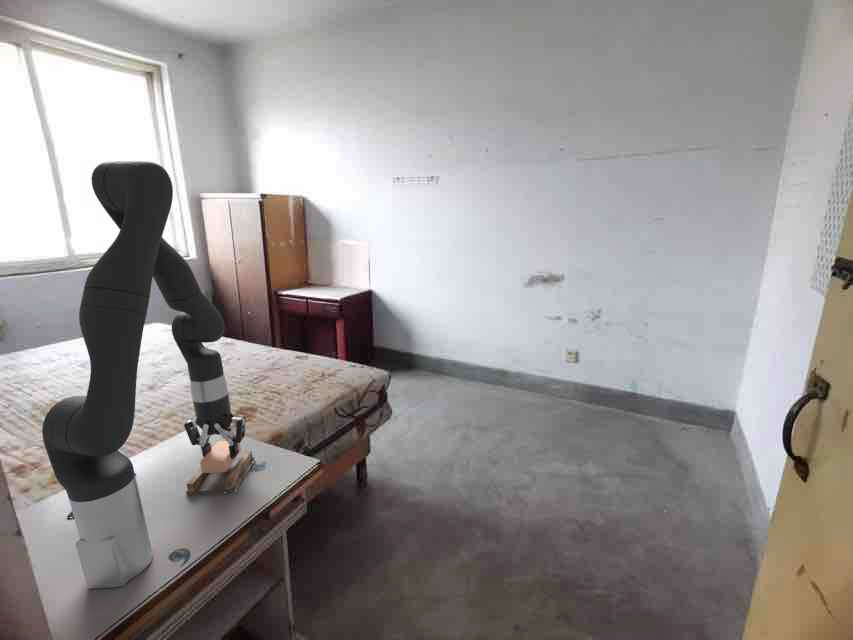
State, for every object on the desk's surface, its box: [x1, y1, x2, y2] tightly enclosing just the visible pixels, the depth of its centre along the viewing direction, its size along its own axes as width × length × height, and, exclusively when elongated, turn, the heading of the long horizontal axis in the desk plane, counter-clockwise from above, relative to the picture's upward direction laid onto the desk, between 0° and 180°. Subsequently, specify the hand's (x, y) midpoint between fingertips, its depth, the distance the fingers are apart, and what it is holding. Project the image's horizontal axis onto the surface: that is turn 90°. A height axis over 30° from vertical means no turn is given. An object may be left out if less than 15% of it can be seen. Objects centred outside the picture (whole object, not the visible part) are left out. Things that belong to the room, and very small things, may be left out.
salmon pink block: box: [199, 440, 242, 473], centre depth 100 cm, size 9×6×3 cm, turn 2°
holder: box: [185, 450, 256, 496], centre depth 100 cm, size 13×11×3 cm
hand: (221, 457), depth 100 cm, fingers closed on salmon pink block, 5 cm apart
